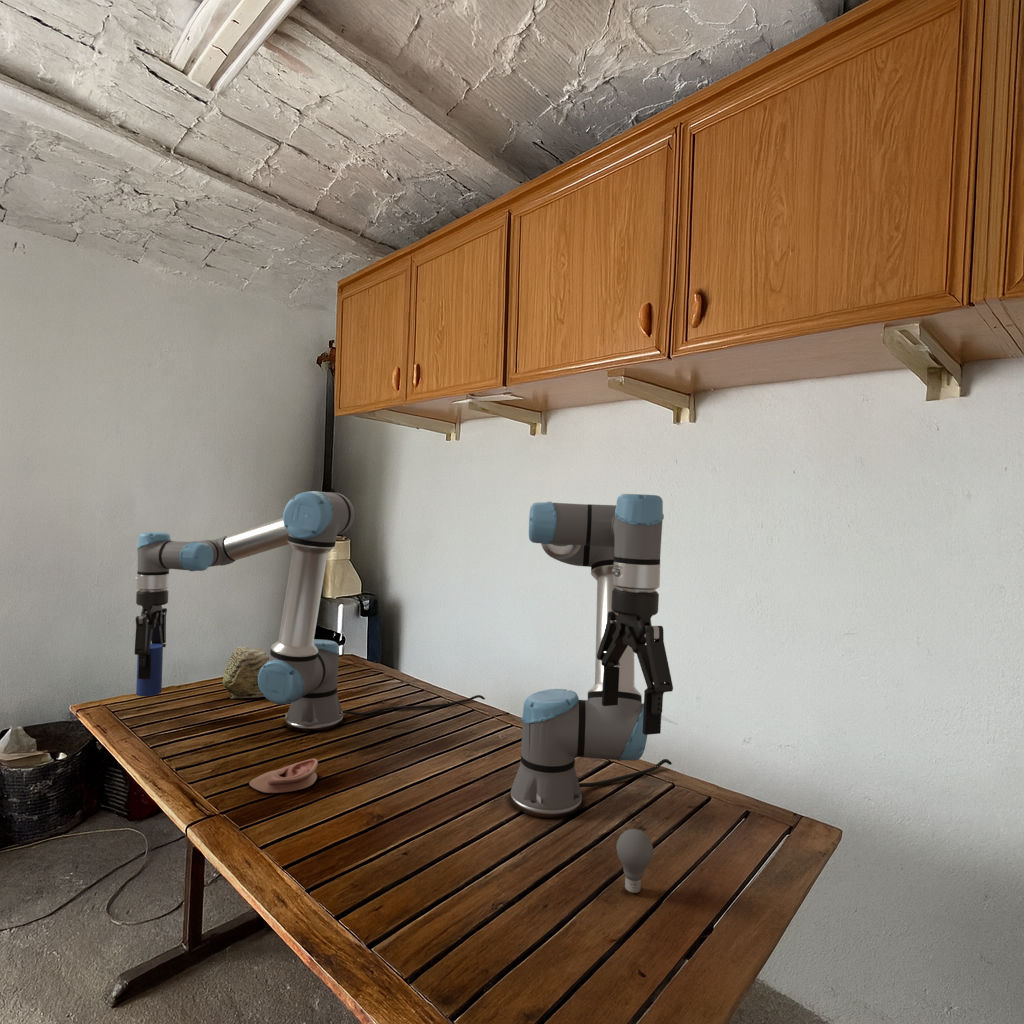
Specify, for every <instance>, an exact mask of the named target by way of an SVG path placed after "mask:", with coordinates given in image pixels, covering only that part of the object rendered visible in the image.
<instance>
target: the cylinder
mask: <svg viewBox="0 0 1024 1024" xmlns="http://www.w3.org/2000/svg"><path fill="white" fill-rule="evenodd" d="M149 654H151V672H150V679H138V669H139V655H136V656H137V657H136V658H137V660H136V684H135V685H136V688H135V695H136V696H137V697H138V696H139V697H152V696H153V697H154V696H158V695H160V694H161V693H162V690H163V689H162V686H163V662H164V661H163V659H164V658H163V657H164V647H163V645H162V644H152V643H151V646H150V652H149Z"/></svg>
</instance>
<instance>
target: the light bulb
mask: <svg viewBox="0 0 1024 1024" xmlns="http://www.w3.org/2000/svg"><path fill="white" fill-rule="evenodd" d="M615 849H616V854H617V857H618V859H619V861H620V863H621V865H622V867H623V873H624V874H623V875H624V876H625V878H624V888H625V890H627V891H628V892H630V893H634V894H635V893H639V892H640V891H641V889H642V887H641V886H642V879H643V877H644V875H645V871H646V868H647V867H648V866H649V864H650V863H651V861H652V859H653V855H654V847H653V843H652V841H651V838H649V836H648V835H647V834H646V833H645V832H643V831H642V830H641V829H636V828H629V829H627V830H625V831H623V832H622V833H621V834H620V835H619V837H618V839H617V841H616V847H615Z"/></svg>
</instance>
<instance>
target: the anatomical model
mask: <svg viewBox="0 0 1024 1024" xmlns="http://www.w3.org/2000/svg"><path fill="white" fill-rule="evenodd" d="M318 764H319V761H318V759H317V758H309V759H305V760H302V761H299V762H296V763H293V764H290V765H289V764H288V765H287V766H284V767H281V768H279V769H274V770H271V771H268V772H265V773H263V774H260V775H258V776H256V777H254V778H252V779H251V780H250V781H249V783H248V784H249V785H248V786H250V787H251V788H253V789H254V790H256V791H258V792H261V793H264V794H279V793H289V792H295V791H298V790H303V789H306V788H309V787H311V786H312V785H313V784H315V782H316V781H317V778H318V775H317V773H316V770H317V768H318Z"/></svg>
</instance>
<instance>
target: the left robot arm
mask: <svg viewBox="0 0 1024 1024" xmlns="http://www.w3.org/2000/svg"><path fill="white" fill-rule="evenodd" d="M354 520H355V508H354V506H353V504H352V502H351V500H350V499H349V498H347V497H346V496H345V495H344V494H341V493H339V492H335V491H333V492H331V491H329V492H328V491H327V492H326V491H318V490H310V491H304V492H300V493H298V494H296V495H294V496H293V497H291V498H290V499H289V501H288V502H287V503H286V505H285V506H284V510H283V514H282V517H281V518H278V519H274V520H271V521H268V522H265V523H261V524H259V525H256V526H253V527H250V528H246V529H243V530H240V531H237V532H235V533H231V534H228V535H225V536H222V537H218V538H215V539H206V540H194V541H174V540H172V539H171V533H169V532H161V531H157V532H156V531H148V532H147V531H146V532H141V534H139V537H138V542H137V548H136V550H137V571H136V577H135V581H136V589H137V591H136V595H135V604H136V605H137V606H141V607H142V608H141V612H140V615H137V616H135V639H134V655H135V656H137V655H139V669H138V679H150V672H151V654H149V652H150V646H151V644H162V645H163V648H167V647H166V646H167V644H166V643H167V612H168V608H167V607H163V606H165V605H167V604H168V603H169V590H168V589H169V587H170V570H177V571H178V570H180V571H189V572H204V571H206V570H207V569H208V568H210V567H218V566H222V567H223V566H228V565H230V564H233V563H235V562H236V561H238V560H242V559H245V558H248V557H251V556H255V555H257V554H260V553H265V552H268V551H271V550H273V549H278V548H280V547H283V546H288V545H290V547H291V548H292V552H291V557H290V565H289V570H288V578H287V583H286V591H285V596H284V601H283V602H284V603H283V609H282V614H281V615H282V616H281V621H280V628H279V634H278V640H277V641H275V642H273V644H272V645H271V646H270V651H269V661H268V662H267V663H266V664H264V665H263V667H262V668H261V669H260V671H259V674H258V686H259V689H260V691H261V693H263V694H264V696H265V697H264V698H265V699H266V700H268V702H270V703H273V704H275V705H281V706H285V705H289V708H288V711H287V712H285V726H286V728H287V729H289V730H291V731H294V732H295V731H296V732H301V733H316V732H325V731H329V730H332V729H335V728H337V727H339V726H340V725H342V723H343V722H344V714H346V715H354V716H369V715H372V714H373V715H374V714H376V713H379V712H383V711H391V710H413V709H415V710H416V709H432V708H440V707H441V708H442V707H447V706H453V705H458V704H462V703H467V702H471V701H472V700H475V699H478V698H479V699H481V700H486V698H485V697H484V696H483V695H480V694H476V695H474V696H471V697H468V698H464V699H460V700H456V701H452V702H451V701H450V702H446V703H439V704H426V705H425V704H423V705H400V706H399V705H397V706H387V707H381V708H377V709H374V710H371V711H365V712H357V711H353V710H343V709H342V706H341V702H340V699H339V695H338V682H339V662H340V661H339V660H340V650H339V649H340V646H339V643H338V642H337V641H335V640H330V639H316V638H315V635H316V628H317V622H318V617H319V611H320V610H319V609H320V603H321V597H322V591H323V585H324V580H325V579H324V578H325V571H326V567H327V566H326V565H327V560H328V554H329V552H331V551H332V550H334V549H335V547H336V541H337V536H338V535H342V534H344V533H345V532H347V531H348V530H349V529H350V528H351V526H352V524H353V522H354Z"/></svg>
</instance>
